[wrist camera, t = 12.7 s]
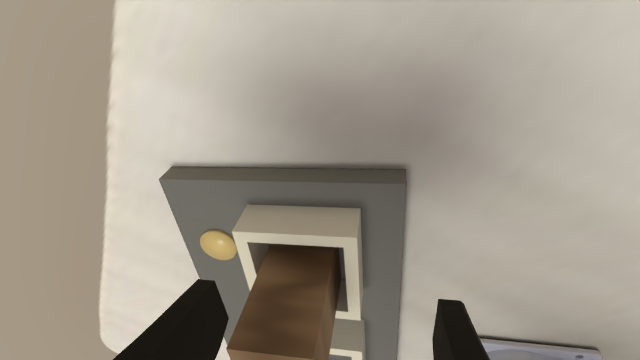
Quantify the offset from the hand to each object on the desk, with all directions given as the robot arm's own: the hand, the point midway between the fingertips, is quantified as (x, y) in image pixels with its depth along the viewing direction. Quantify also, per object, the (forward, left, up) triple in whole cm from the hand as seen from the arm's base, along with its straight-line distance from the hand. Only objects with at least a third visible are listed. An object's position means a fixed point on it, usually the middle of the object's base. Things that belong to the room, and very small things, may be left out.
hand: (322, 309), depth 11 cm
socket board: (+5, +12, -10) cm, 16 cm away
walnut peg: (+3, +7, -9) cm, 12 cm away
